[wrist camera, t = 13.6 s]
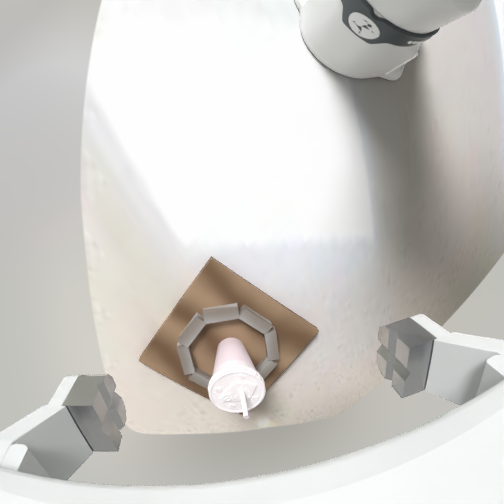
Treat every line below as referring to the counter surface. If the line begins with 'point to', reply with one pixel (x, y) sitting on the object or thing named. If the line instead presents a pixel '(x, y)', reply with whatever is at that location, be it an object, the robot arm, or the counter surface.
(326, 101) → the counter surface
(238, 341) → the smoothie
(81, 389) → the robot arm
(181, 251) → the counter surface
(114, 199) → the counter surface
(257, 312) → the socket
